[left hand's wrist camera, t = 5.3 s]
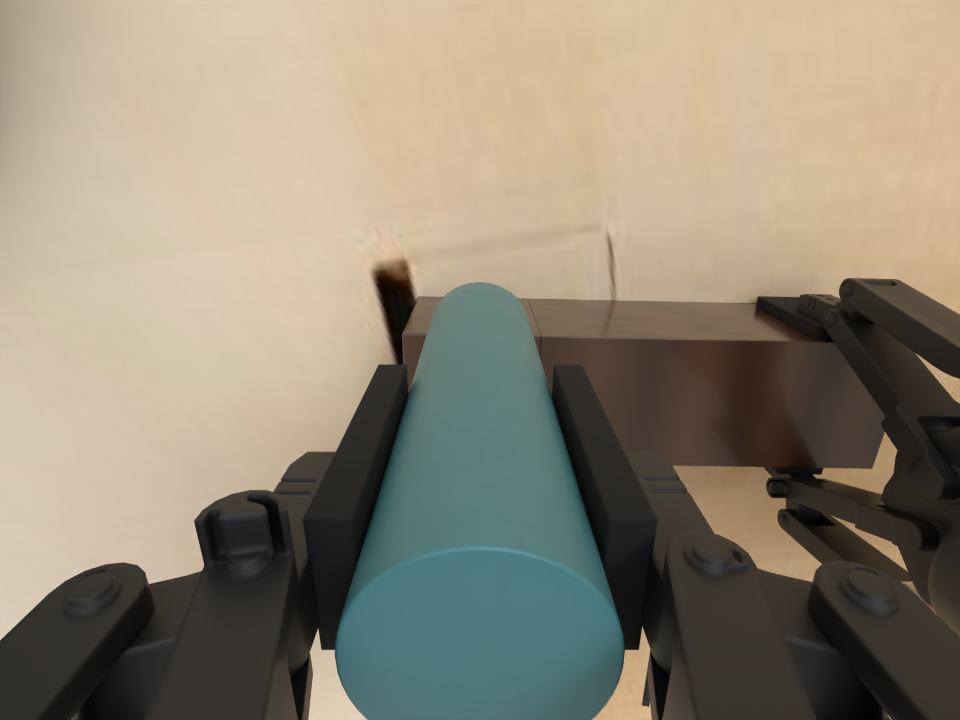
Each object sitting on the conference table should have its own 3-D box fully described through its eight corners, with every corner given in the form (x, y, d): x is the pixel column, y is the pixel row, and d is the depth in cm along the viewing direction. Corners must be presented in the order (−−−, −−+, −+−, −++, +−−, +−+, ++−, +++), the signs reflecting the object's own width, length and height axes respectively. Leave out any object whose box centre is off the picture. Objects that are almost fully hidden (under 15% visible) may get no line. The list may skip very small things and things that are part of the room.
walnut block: (419, 402, 39) (406, 461, 31) (417, 296, 36) (402, 333, 28) (797, 409, 39) (872, 469, 32) (825, 304, 36) (915, 343, 29)
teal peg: (415, 353, 22) (295, 713, 8) (454, 265, 20) (398, 503, 6) (503, 391, 22) (541, 788, 8) (547, 307, 21) (682, 611, 7)
